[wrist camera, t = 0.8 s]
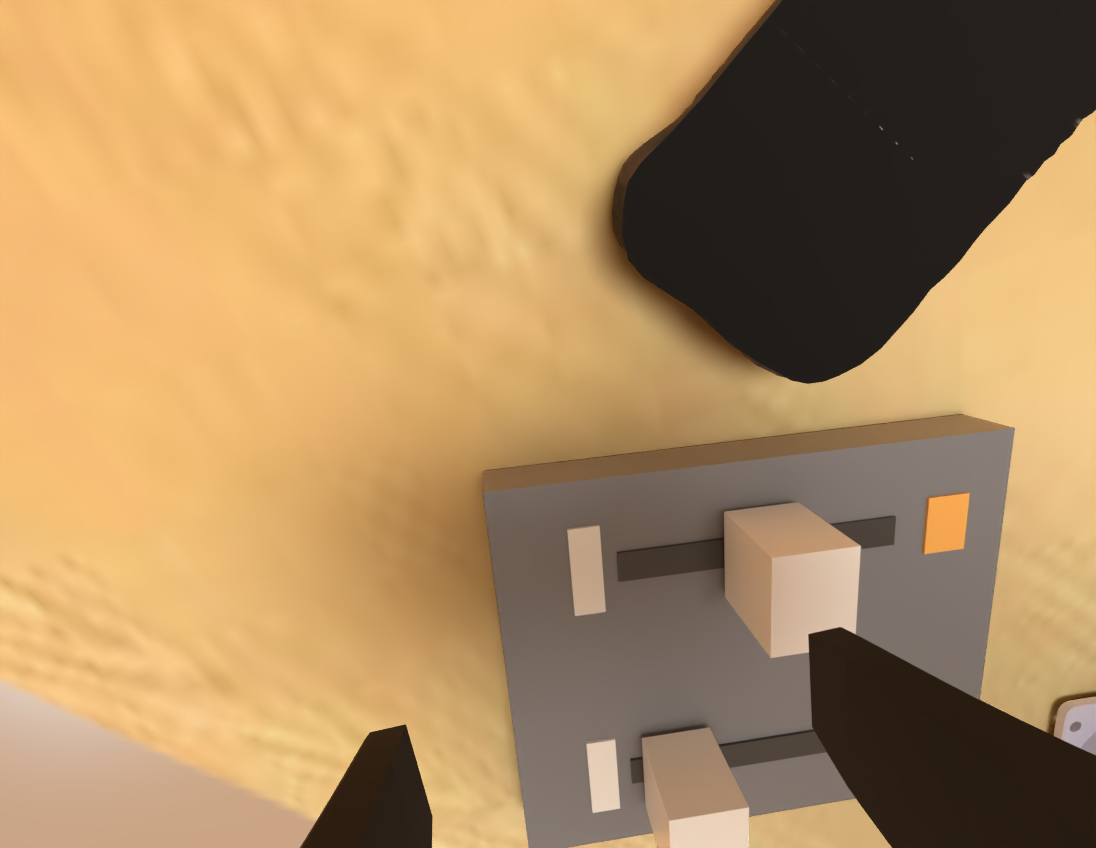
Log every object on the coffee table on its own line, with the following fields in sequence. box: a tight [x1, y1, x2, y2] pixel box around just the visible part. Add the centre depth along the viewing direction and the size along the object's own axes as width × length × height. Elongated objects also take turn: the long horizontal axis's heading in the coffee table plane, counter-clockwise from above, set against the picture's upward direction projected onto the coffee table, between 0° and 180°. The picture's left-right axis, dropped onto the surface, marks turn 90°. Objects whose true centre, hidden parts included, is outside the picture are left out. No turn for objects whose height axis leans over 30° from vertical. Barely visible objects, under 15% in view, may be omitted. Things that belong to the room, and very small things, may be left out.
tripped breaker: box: [724, 502, 861, 658], centre depth 16 cm, size 3×2×3 cm
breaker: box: [642, 727, 749, 848], centre depth 18 cm, size 3×2×3 cm
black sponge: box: [612, 0, 1096, 384], centre depth 15 cm, size 16×8×4 cm, turn 139°
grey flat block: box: [483, 414, 1015, 848], centre depth 19 cm, size 14×17×2 cm
